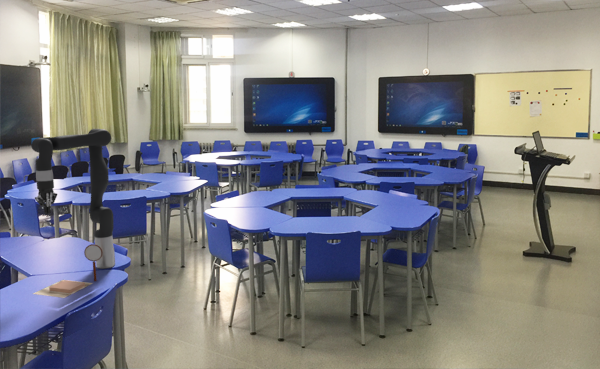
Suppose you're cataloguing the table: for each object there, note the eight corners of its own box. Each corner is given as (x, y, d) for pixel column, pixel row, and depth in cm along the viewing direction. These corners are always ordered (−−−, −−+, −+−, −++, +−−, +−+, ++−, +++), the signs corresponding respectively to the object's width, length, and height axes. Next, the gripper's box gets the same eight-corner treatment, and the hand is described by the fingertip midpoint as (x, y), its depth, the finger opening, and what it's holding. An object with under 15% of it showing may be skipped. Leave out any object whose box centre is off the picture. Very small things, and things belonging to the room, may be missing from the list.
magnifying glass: (86, 283, 260) (83, 245, 257) (87, 282, 262) (84, 244, 259) (103, 283, 261) (101, 244, 258) (104, 282, 263) (102, 243, 260)
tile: (64, 280, 257) (84, 282, 254) (64, 284, 257) (84, 286, 254) (49, 287, 247) (70, 289, 244) (49, 291, 248) (70, 293, 244)
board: (63, 281, 264) (62, 279, 263) (93, 285, 259) (93, 283, 258) (32, 295, 245) (32, 293, 244) (64, 299, 240) (64, 297, 239)
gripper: (41, 181, 248) (44, 217, 251) (60, 177, 261) (63, 211, 263) (28, 180, 250) (31, 216, 253) (48, 177, 263) (51, 210, 266)
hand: (47, 213), depth 258 cm, fingers closed
